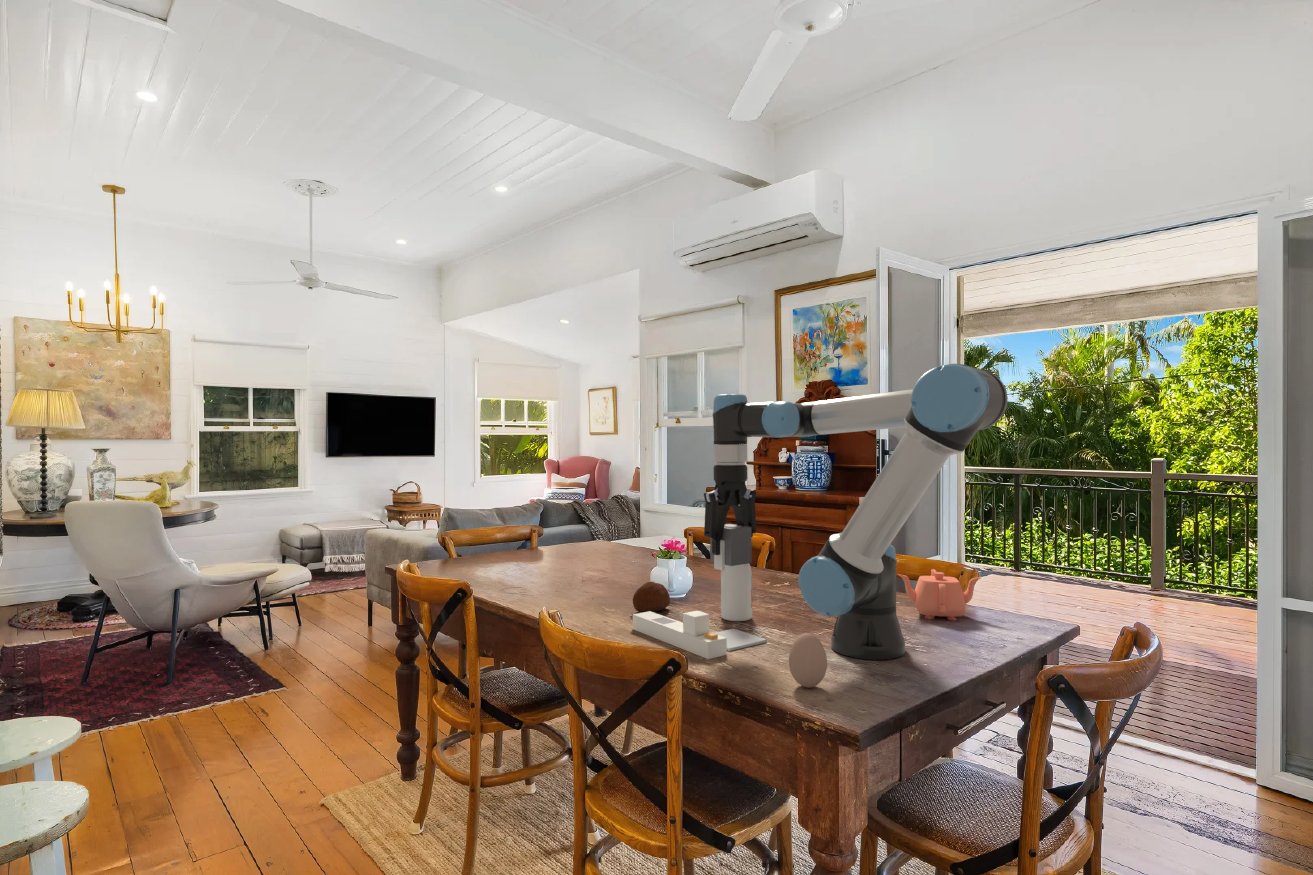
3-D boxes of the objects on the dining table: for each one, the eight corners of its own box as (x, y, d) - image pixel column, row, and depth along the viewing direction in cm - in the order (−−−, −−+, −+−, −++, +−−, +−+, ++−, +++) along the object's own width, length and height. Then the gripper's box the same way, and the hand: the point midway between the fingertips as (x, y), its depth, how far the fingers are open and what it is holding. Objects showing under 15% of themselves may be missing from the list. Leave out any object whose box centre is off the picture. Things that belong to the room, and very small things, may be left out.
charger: (751, 563, 157) (751, 526, 157) (731, 566, 153) (730, 528, 153) (730, 558, 163) (730, 523, 163) (710, 561, 159) (710, 525, 159)
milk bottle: (751, 622, 173) (750, 540, 173) (719, 621, 175) (718, 540, 174) (753, 614, 181) (752, 536, 180) (722, 613, 182) (722, 535, 182)
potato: (678, 610, 186) (678, 579, 186) (648, 618, 178) (647, 586, 178) (657, 605, 192) (657, 575, 192) (626, 613, 183) (626, 582, 183)
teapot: (896, 614, 181) (896, 571, 181) (932, 606, 188) (932, 565, 188) (946, 626, 168) (946, 580, 168) (983, 618, 176) (982, 574, 176)
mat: (766, 642, 157) (766, 639, 157) (729, 651, 150) (729, 648, 150) (733, 631, 166) (733, 628, 166) (696, 639, 159) (696, 636, 159)
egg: (809, 696, 124) (809, 640, 124) (781, 685, 130) (780, 632, 130) (835, 688, 128) (834, 634, 128) (806, 677, 134) (806, 626, 134)
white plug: (709, 632, 152) (709, 614, 152) (694, 636, 149) (694, 617, 149) (697, 628, 155) (697, 610, 155) (683, 631, 153) (683, 613, 153)
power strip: (726, 654, 148) (726, 634, 148) (708, 659, 145) (708, 638, 145) (650, 625, 171) (649, 607, 171) (632, 629, 168) (632, 610, 168)
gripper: (750, 462, 166) (750, 560, 167) (686, 464, 155) (686, 570, 156) (773, 463, 160) (773, 565, 160) (708, 465, 149) (708, 575, 149)
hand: (730, 567), depth 158 cm, fingers closed on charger, 6 cm apart
